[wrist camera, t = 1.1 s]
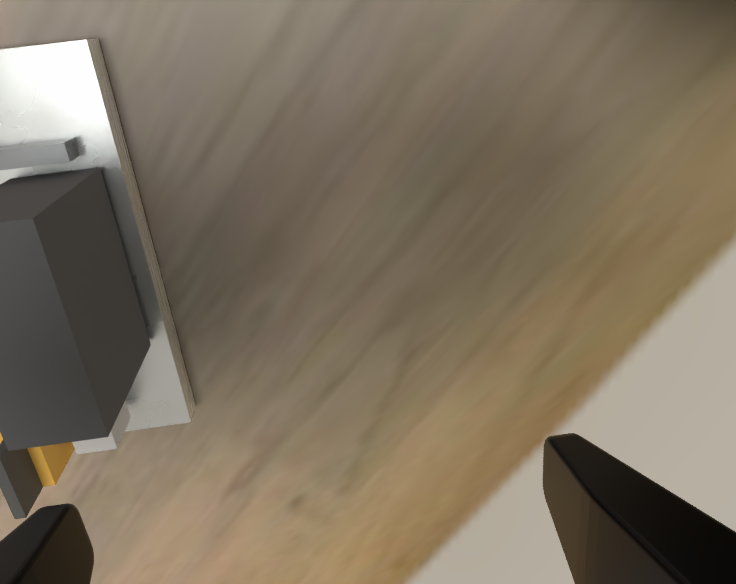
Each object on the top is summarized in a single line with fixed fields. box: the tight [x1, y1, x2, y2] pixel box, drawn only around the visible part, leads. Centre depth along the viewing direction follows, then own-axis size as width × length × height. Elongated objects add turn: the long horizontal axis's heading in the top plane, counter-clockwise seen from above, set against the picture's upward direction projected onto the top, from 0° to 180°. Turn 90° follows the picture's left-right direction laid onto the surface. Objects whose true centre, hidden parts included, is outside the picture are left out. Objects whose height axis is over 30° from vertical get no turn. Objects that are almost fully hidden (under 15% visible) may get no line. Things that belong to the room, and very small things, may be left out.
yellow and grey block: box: [0, 433, 75, 519], centre depth 18 cm, size 1×2×4 cm, turn 6°
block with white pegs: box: [0, 168, 151, 454], centre depth 16 cm, size 6×8×5 cm
